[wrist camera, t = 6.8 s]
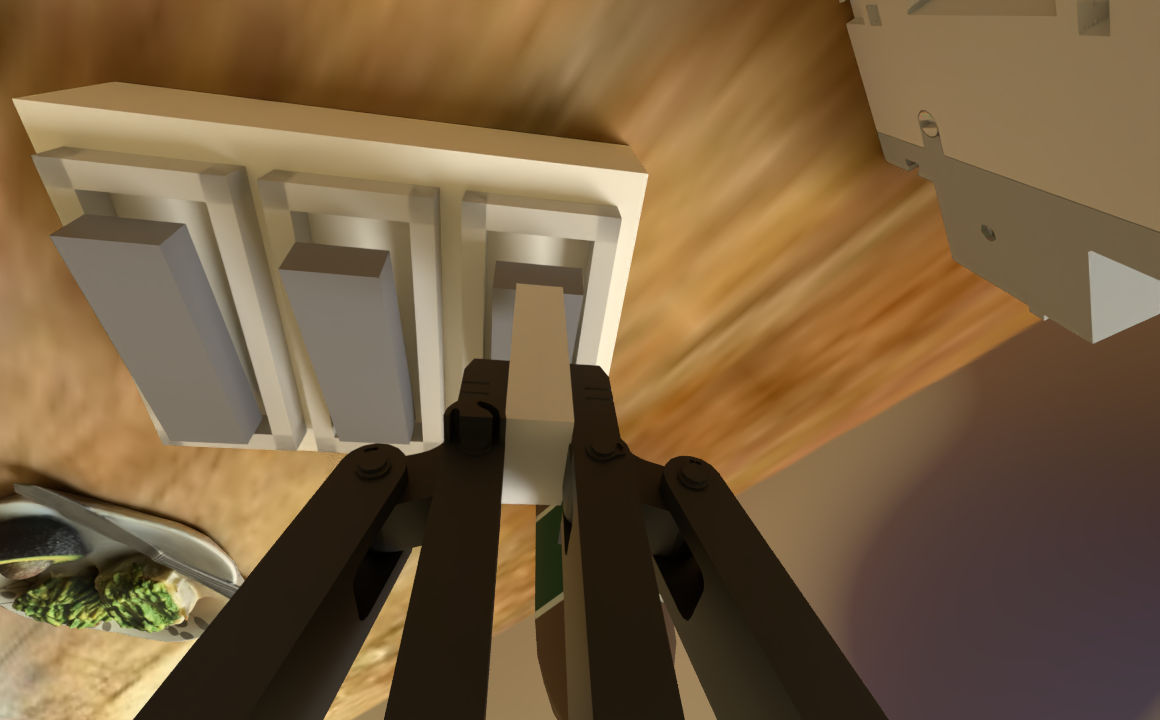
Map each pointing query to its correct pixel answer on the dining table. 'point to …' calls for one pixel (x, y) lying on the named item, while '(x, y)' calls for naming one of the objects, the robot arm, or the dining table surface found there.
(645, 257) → the dining table surface
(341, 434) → the block
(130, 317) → the rocker
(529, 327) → the robot arm
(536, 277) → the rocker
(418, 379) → the console
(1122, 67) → the circuit breaker
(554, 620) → the beer bottle
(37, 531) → the salad plate
